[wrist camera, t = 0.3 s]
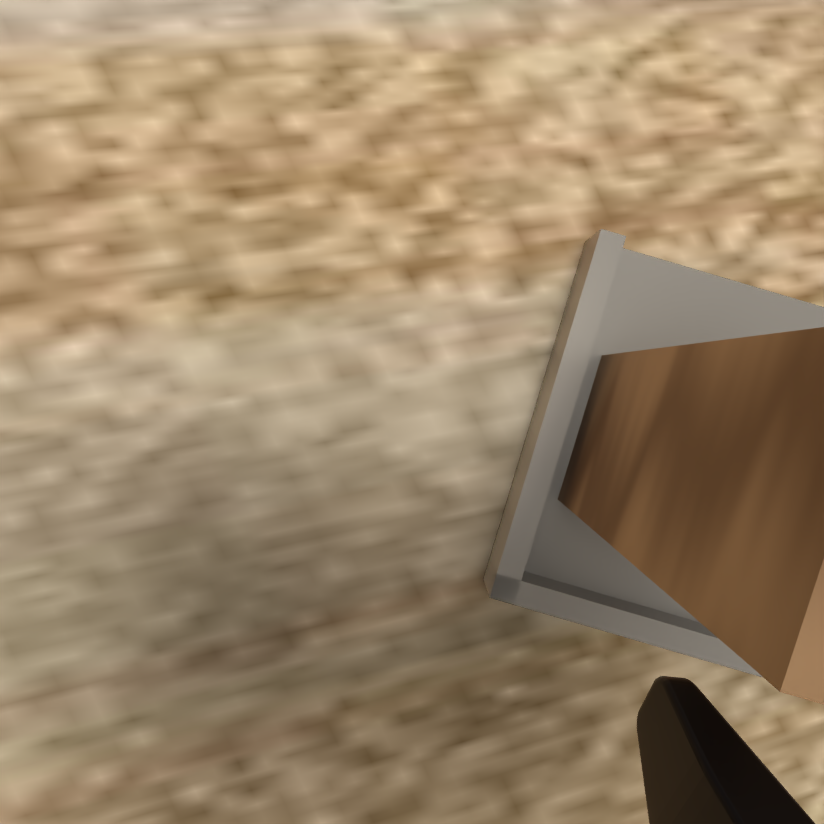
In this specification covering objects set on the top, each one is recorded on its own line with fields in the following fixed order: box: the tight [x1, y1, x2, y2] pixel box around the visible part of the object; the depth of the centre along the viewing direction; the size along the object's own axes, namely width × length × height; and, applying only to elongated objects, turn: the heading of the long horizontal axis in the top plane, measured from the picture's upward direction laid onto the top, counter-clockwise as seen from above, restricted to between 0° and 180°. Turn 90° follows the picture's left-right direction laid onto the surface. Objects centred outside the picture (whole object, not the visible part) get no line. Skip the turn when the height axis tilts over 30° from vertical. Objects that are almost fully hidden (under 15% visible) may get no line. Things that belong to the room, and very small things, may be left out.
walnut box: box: [558, 327, 824, 704], centre depth 16 cm, size 5×5×14 cm
